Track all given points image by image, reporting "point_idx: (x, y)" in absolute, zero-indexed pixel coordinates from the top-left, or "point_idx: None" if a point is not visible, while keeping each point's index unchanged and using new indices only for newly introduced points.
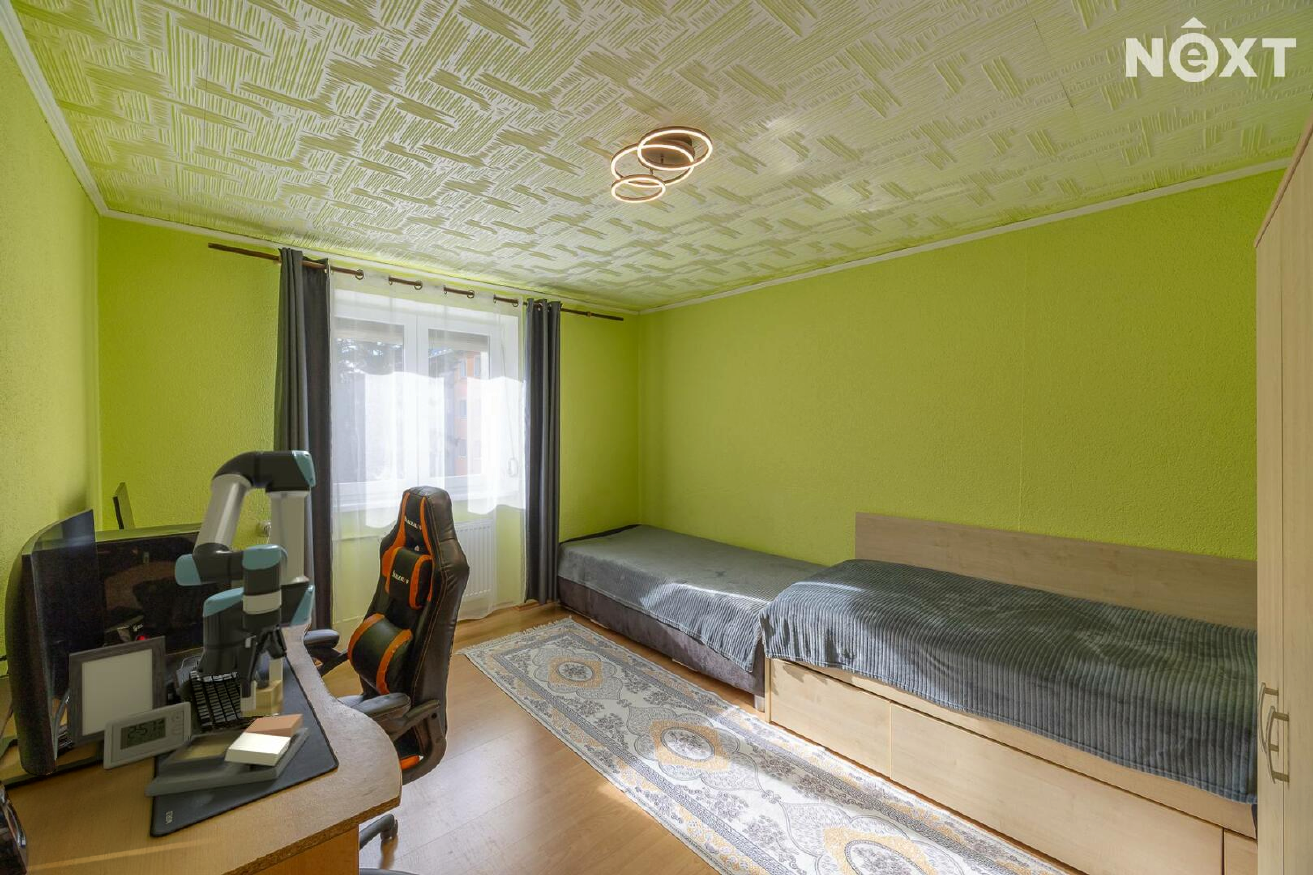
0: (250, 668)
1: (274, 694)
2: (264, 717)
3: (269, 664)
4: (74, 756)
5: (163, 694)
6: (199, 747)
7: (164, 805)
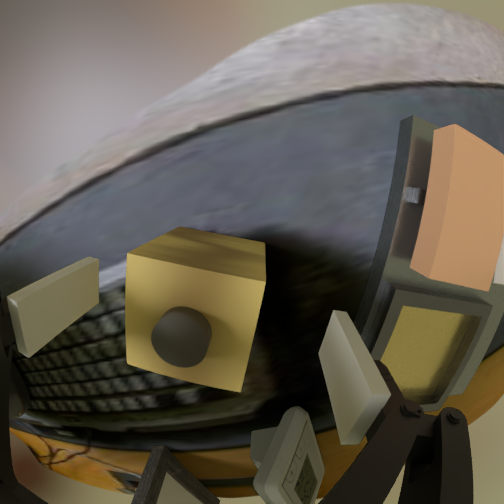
0: (458, 469)
1: (230, 263)
2: (437, 253)
3: (43, 345)
4: (241, 495)
5: (149, 493)
6: None
7: (492, 344)
